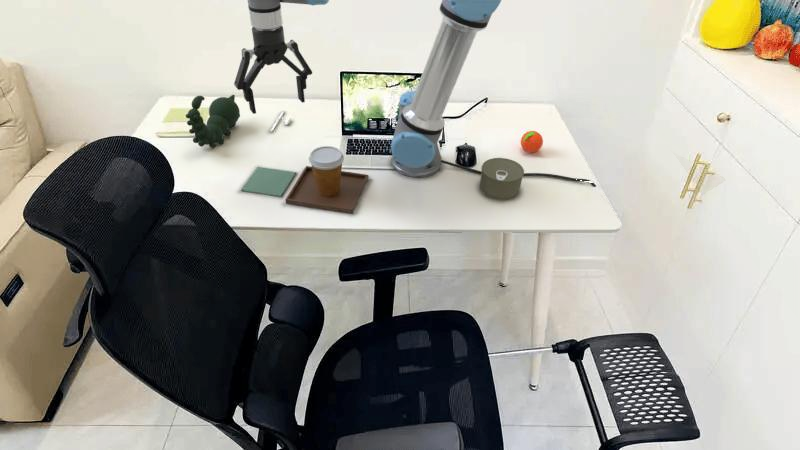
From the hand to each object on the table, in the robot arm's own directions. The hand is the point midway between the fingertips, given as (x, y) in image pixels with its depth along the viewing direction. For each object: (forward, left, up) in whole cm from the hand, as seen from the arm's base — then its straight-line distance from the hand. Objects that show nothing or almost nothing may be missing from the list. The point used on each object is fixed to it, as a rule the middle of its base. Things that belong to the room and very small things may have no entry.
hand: (277, 105), depth 144 cm
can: (-62, -9, -23) cm, 67 cm away
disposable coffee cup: (-14, +4, -23) cm, 27 cm away
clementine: (-70, -32, -23) cm, 81 cm away
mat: (+4, +4, -23) cm, 24 cm away
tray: (-14, +4, -23) cm, 27 cm away
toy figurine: (+29, -16, -23) cm, 41 cm away
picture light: (+13, -30, -23) cm, 41 cm away
